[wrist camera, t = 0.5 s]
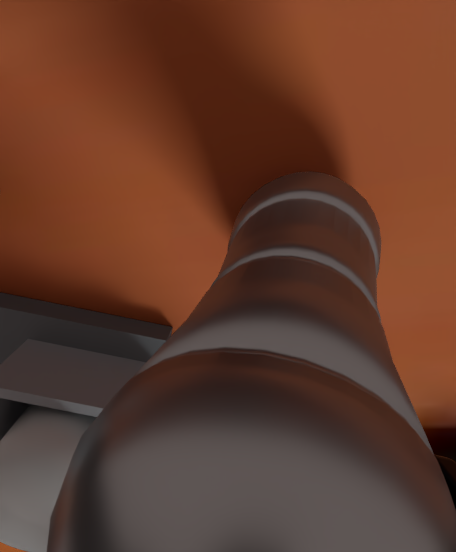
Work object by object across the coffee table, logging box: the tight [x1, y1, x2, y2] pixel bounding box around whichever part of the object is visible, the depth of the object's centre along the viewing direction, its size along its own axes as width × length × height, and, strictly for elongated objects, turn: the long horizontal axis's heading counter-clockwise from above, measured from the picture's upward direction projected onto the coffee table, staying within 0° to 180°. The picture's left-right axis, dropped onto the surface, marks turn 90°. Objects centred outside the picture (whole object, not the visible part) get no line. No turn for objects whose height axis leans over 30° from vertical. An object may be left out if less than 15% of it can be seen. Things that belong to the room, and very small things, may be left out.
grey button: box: [0, 404, 97, 552], centre depth 18 cm, size 6×6×4 cm
